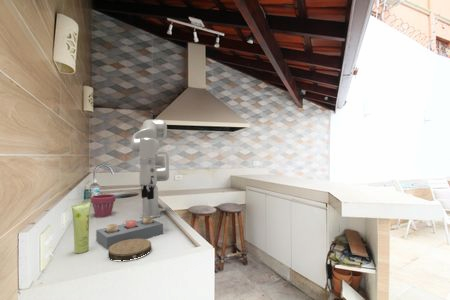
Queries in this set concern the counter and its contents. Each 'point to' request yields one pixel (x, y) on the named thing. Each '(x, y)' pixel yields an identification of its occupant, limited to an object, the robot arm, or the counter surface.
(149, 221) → the knob
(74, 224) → the tube
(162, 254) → the counter surface
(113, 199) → the plant pot
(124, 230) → the knob panel
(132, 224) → the knob red
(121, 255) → the wood log slice
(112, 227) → the knob
